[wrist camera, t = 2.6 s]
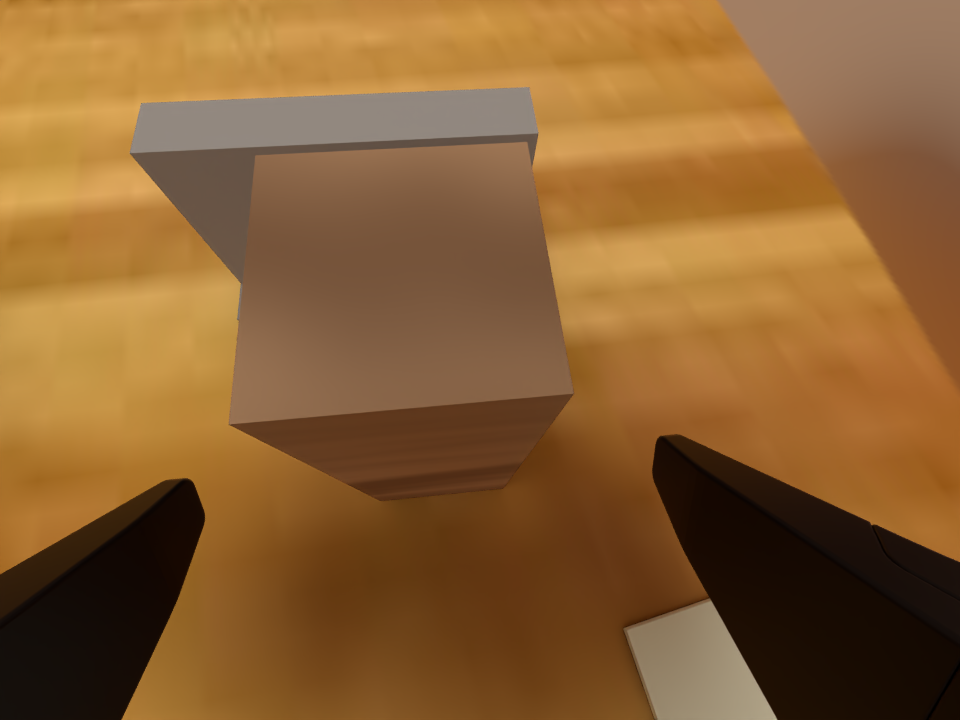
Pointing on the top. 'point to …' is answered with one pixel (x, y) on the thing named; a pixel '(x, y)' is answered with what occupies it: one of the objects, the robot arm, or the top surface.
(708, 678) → the mat
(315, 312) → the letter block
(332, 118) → the screen
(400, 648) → the top surface
